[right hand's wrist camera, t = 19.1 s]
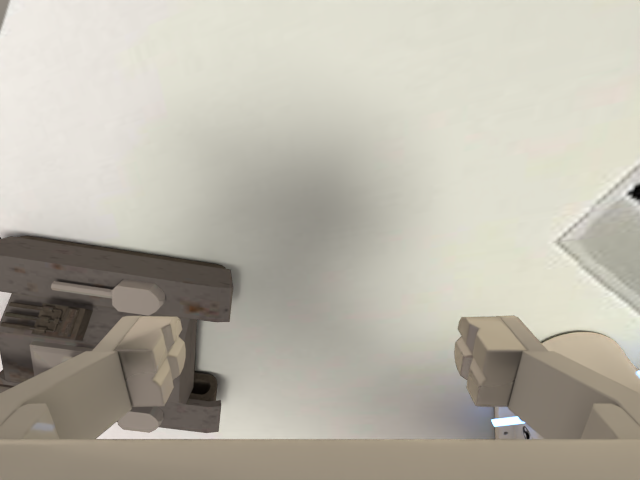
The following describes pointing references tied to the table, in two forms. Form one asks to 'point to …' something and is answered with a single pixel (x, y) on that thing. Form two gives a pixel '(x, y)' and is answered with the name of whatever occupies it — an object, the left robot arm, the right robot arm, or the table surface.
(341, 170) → the table surface
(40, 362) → the toy
